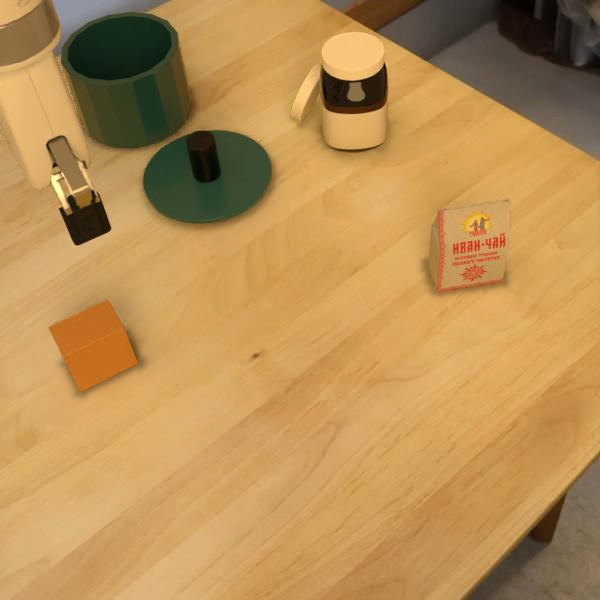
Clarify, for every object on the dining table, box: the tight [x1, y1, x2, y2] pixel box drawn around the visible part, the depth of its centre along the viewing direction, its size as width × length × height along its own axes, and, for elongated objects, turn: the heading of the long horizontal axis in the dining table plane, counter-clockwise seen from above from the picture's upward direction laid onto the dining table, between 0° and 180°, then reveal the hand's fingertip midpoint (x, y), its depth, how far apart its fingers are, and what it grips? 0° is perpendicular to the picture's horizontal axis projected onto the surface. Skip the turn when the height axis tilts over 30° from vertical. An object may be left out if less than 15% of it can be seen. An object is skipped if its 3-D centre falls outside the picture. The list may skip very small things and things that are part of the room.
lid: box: [142, 129, 273, 225], centre depth 95 cm, size 15×15×6 cm
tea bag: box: [427, 198, 512, 293], centre depth 83 cm, size 4×7×10 cm, turn 98°
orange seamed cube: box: [48, 298, 139, 392], centre depth 81 cm, size 6×4×6 cm, turn 120°
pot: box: [60, 11, 193, 149], centre depth 102 cm, size 14×14×10 cm
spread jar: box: [290, 31, 389, 154], centre depth 97 cm, size 12×11×12 cm
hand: (71, 200), depth 71 cm, fingers open, 9 cm apart
